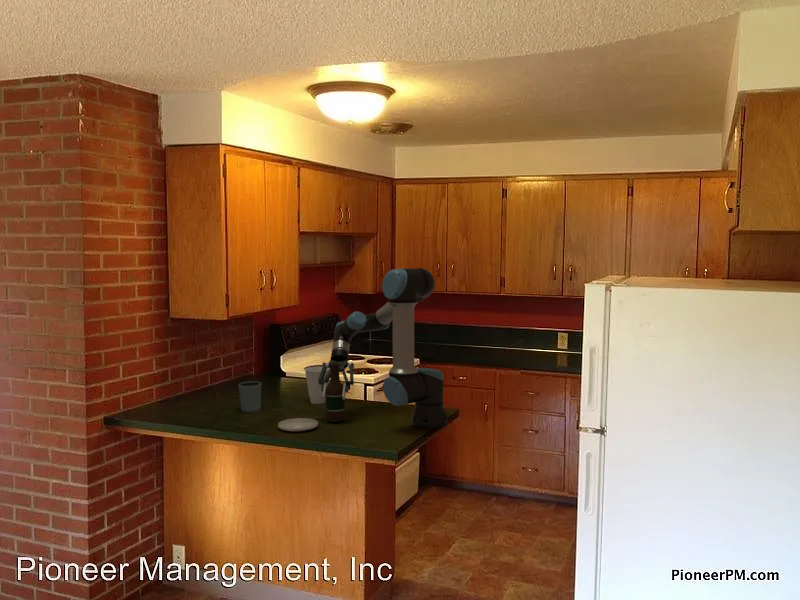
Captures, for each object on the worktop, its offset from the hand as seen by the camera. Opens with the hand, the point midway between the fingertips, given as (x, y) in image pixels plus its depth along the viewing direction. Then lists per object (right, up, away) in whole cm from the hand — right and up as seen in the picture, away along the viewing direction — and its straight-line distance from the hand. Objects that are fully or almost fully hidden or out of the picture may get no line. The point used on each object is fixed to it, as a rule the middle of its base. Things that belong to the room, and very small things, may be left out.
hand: (333, 397), depth 286 cm
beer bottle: (0, -10, +4) cm, 11 cm away
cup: (-11, -8, +40) cm, 42 cm away
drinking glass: (-40, -9, +26) cm, 48 cm away
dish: (-14, -12, -5) cm, 19 cm away
